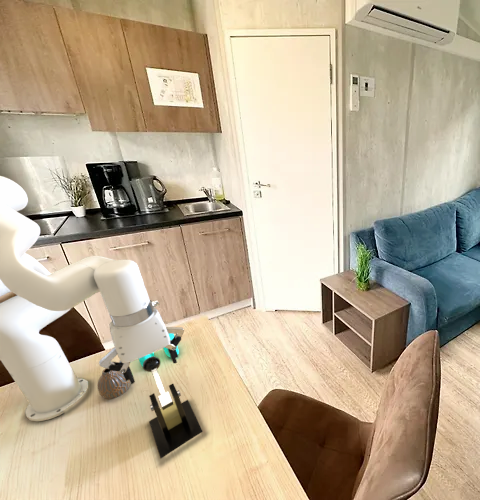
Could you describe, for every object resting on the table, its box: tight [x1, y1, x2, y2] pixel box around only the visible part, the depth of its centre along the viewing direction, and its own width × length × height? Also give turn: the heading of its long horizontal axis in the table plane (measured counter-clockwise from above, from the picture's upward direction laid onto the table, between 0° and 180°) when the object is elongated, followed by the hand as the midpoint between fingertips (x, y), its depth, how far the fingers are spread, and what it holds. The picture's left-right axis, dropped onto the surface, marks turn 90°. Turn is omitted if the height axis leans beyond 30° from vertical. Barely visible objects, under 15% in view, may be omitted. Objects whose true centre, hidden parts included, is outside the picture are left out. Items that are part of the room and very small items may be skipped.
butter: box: [160, 401, 182, 430], centre depth 71 cm, size 5×4×3 cm
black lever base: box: [148, 383, 203, 460], centre depth 68 cm, size 12×9×12 cm
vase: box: [96, 368, 131, 400], centre depth 78 cm, size 7×7×9 cm
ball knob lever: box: [142, 356, 174, 410], centre depth 68 cm, size 13×4×4 cm, turn 45°
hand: (153, 369), depth 71 cm, fingers open, 8 cm apart
